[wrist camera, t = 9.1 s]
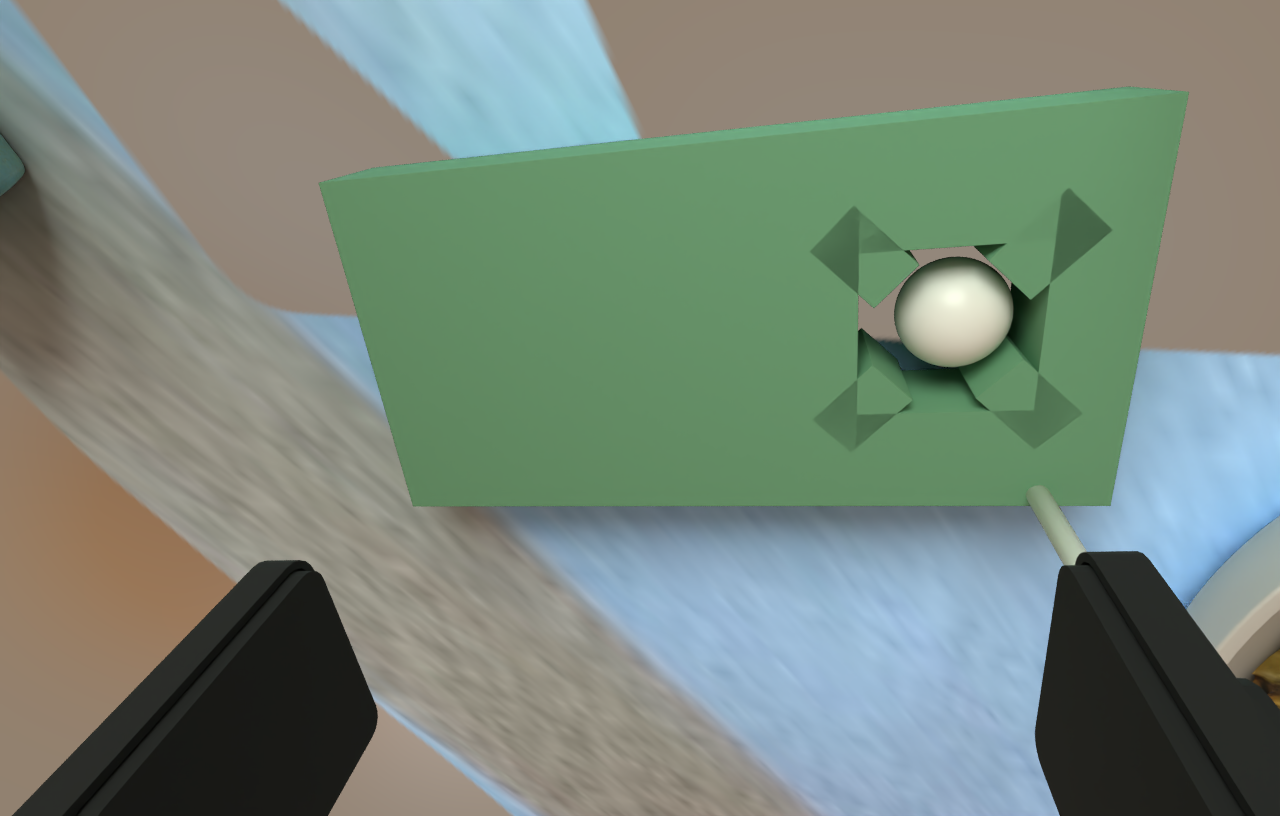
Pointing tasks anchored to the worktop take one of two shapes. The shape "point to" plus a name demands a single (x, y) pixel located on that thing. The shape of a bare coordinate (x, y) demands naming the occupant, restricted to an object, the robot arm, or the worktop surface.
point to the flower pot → (9, 167)
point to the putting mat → (765, 309)
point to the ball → (953, 311)
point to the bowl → (1246, 610)
